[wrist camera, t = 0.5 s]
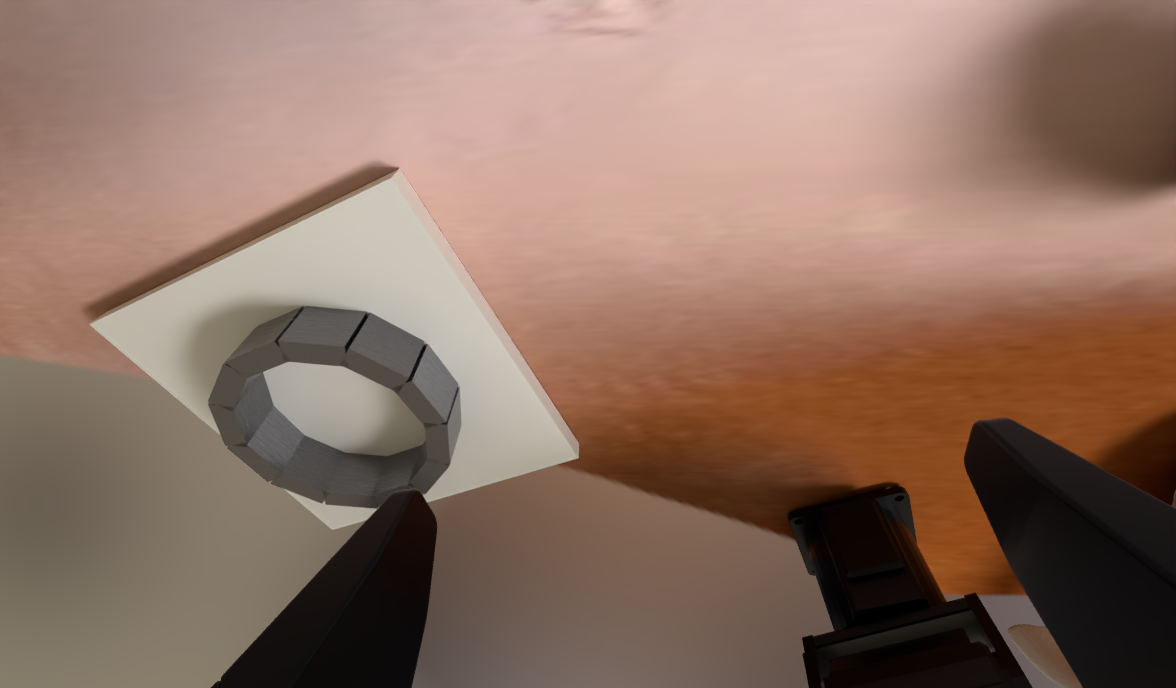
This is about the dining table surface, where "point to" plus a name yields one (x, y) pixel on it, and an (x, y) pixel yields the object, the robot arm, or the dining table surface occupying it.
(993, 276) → the dining table surface
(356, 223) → the mount plate
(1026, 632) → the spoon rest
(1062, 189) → the dining table surface
